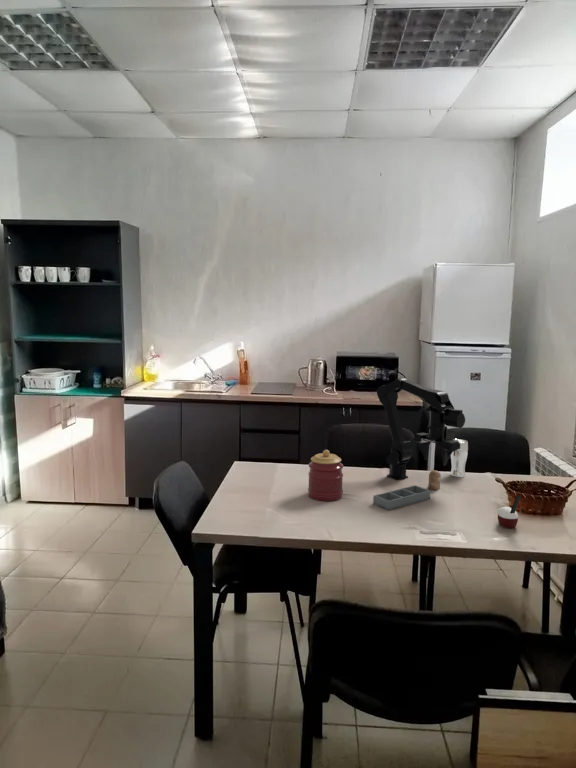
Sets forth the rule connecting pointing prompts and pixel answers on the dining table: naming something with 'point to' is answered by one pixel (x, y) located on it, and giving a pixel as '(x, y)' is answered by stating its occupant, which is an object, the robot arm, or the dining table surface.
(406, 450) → the robot arm
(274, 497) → the dining table surface
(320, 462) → the canister
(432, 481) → the brown rounded cylinder
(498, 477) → the dining table surface
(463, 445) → the beer glass
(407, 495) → the grey compartment tray
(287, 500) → the dining table surface
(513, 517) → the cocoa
